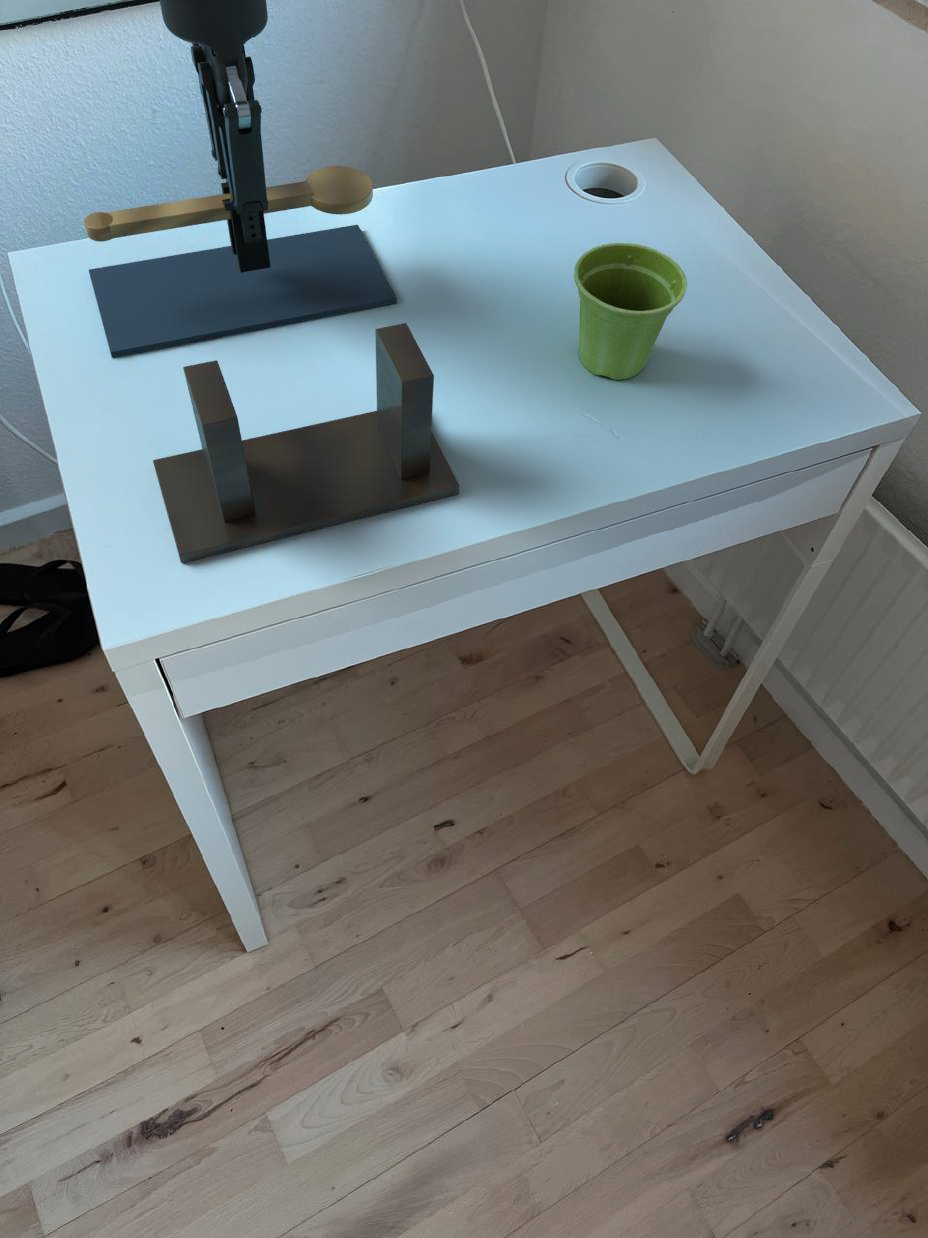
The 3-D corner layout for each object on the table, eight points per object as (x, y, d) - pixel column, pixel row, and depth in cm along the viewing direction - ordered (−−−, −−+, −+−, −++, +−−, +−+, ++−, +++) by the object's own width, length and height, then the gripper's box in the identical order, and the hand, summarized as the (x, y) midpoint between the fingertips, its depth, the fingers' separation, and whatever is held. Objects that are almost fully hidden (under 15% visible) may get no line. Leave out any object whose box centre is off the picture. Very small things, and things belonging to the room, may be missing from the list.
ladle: (93, 256, 76) (89, 243, 75) (82, 215, 80) (78, 201, 79) (381, 208, 83) (381, 195, 82) (361, 171, 86) (360, 158, 85)
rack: (181, 563, 69) (149, 459, 60) (155, 468, 74) (121, 358, 65) (459, 494, 75) (468, 388, 66) (417, 410, 80) (420, 301, 71)
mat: (111, 357, 81) (110, 352, 81) (89, 274, 87) (88, 269, 87) (397, 302, 88) (397, 297, 87) (358, 229, 94) (357, 224, 93)
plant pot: (597, 407, 81) (617, 324, 74) (539, 342, 86) (553, 258, 79) (683, 375, 84) (709, 293, 77) (622, 314, 89) (643, 231, 82)
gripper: (289, 7, 63) (314, 301, 82) (235, -85, 70) (270, 205, 90) (176, 19, 61) (229, 317, 80) (133, -76, 69) (191, 218, 88)
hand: (251, 258), depth 85 cm, fingers closed on ladle, 2 cm apart
